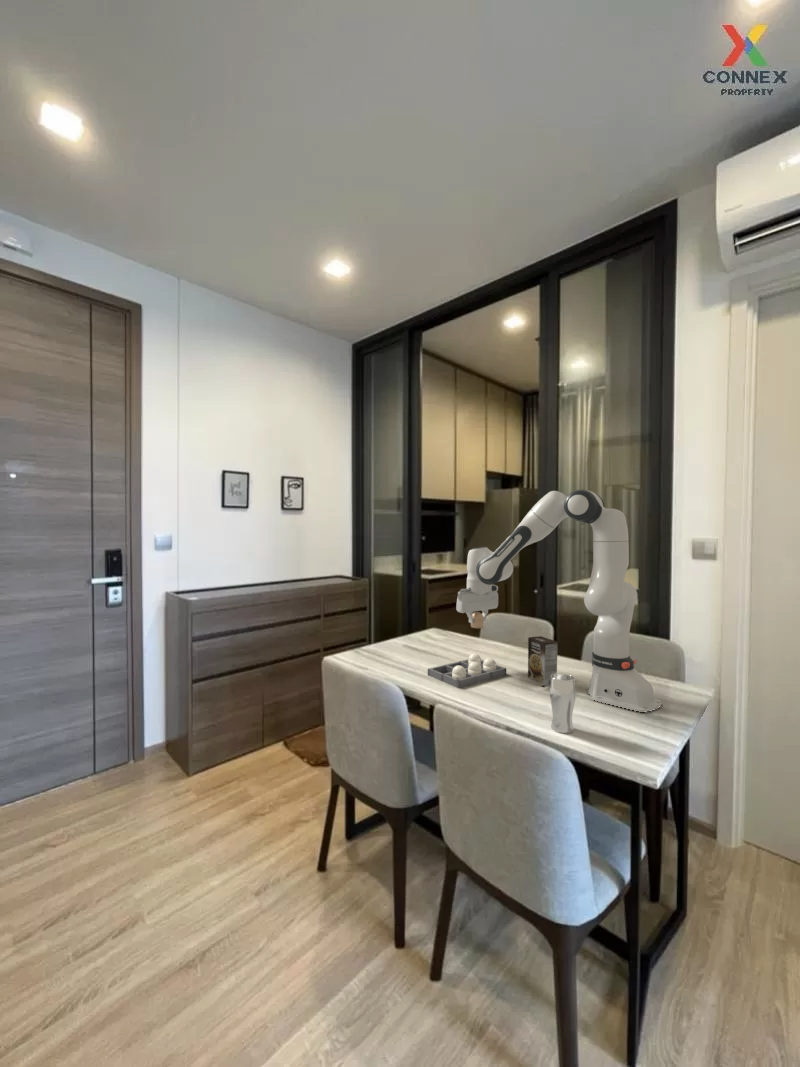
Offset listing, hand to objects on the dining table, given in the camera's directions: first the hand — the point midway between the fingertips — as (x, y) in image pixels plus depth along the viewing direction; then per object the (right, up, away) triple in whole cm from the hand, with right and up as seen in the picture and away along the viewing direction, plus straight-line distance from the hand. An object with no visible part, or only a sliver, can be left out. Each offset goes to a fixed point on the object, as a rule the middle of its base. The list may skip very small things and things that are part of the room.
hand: (477, 621), depth 185 cm
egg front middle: (-3, -19, -12) cm, 23 cm away
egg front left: (-9, -19, -17) cm, 27 cm away
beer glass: (+15, -21, -53) cm, 59 cm away
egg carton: (-5, -20, -9) cm, 22 cm away
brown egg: (0, -2, 0) cm, 2 cm away
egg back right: (-1, -19, -1) cm, 19 cm away
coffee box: (+22, -20, -14) cm, 33 cm away
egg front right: (+3, -19, -7) cm, 20 cm away
